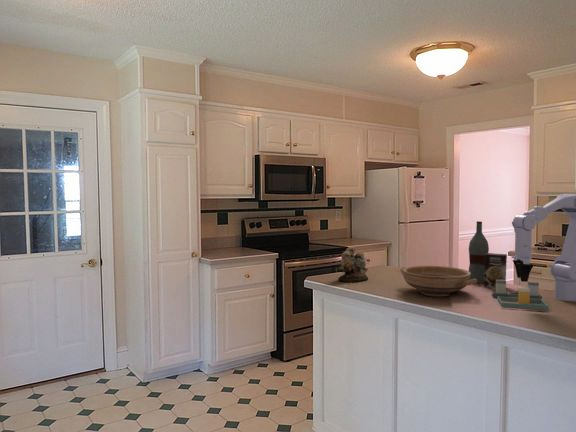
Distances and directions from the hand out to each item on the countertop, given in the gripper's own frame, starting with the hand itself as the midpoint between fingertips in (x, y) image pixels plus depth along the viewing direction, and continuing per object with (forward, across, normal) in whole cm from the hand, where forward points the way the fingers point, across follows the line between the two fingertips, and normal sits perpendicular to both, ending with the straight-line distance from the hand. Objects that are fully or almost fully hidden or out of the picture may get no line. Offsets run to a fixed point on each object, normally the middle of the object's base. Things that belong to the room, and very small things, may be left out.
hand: (522, 279), depth 182 cm
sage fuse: (+9, -8, -7) cm, 14 cm away
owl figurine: (+10, -31, -72) cm, 79 cm away
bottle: (+10, -44, -12) cm, 46 cm away
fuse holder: (+10, -8, -1) cm, 13 cm away
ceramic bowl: (+10, -12, -32) cm, 36 cm away
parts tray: (+10, +4, -1) cm, 11 cm away
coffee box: (+10, -30, -6) cm, 32 cm away
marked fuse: (+9, +4, 0) cm, 10 cm away
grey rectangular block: (+9, -7, +5) cm, 13 cm away
